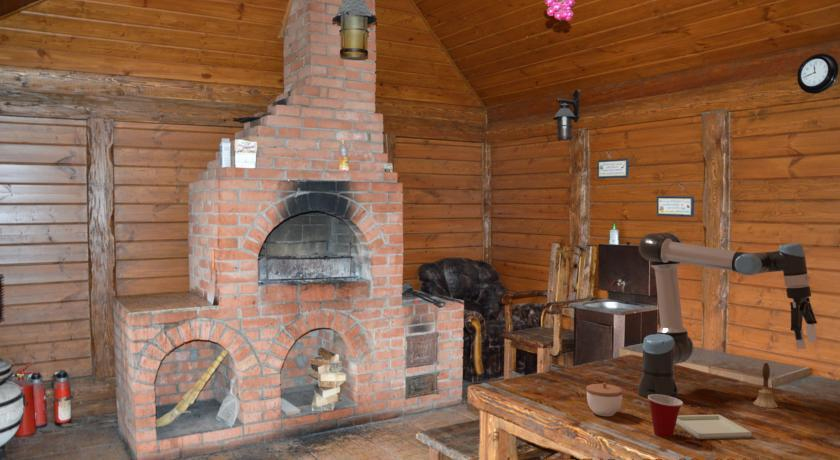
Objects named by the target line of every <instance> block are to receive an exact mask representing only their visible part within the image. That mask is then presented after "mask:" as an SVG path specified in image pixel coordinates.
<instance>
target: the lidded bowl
mask: <svg viewBox="0 0 840 460" xmlns="http://www.w3.org/2000/svg"><path fill="white" fill-rule="evenodd" d="M585 388H586V389H585V390H586V400H587V404H588V407H589V408H590V409H591V410H592V411H593V414H595V415H597V416H601V417H613V416H615V414H616V413H617V412H618V411H619V410H620V408H621V406H622V402H623V393H624V391H623V389H622V388H621V387H620V386H617V385H613V384H610V383H609V384H607V382H602V383H592V384H589V385H587V386H586V387H585Z"/></svg>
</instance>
